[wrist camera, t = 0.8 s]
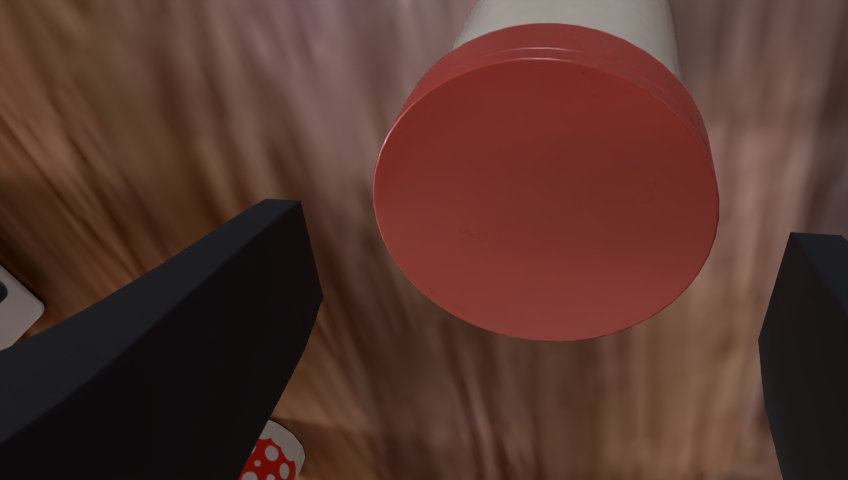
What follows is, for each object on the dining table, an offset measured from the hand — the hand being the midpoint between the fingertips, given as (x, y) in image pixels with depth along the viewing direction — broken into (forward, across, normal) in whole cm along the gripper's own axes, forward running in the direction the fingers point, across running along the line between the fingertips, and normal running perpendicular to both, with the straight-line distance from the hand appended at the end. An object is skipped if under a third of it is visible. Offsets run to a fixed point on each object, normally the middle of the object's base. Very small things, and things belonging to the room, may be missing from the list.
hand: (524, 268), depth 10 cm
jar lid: (+2, 0, 0) cm, 2 cm away
